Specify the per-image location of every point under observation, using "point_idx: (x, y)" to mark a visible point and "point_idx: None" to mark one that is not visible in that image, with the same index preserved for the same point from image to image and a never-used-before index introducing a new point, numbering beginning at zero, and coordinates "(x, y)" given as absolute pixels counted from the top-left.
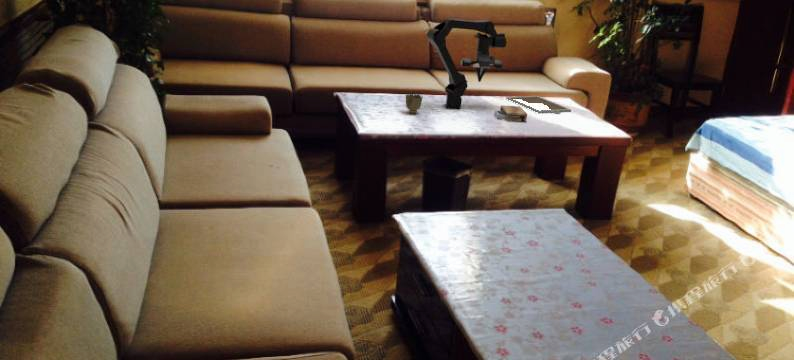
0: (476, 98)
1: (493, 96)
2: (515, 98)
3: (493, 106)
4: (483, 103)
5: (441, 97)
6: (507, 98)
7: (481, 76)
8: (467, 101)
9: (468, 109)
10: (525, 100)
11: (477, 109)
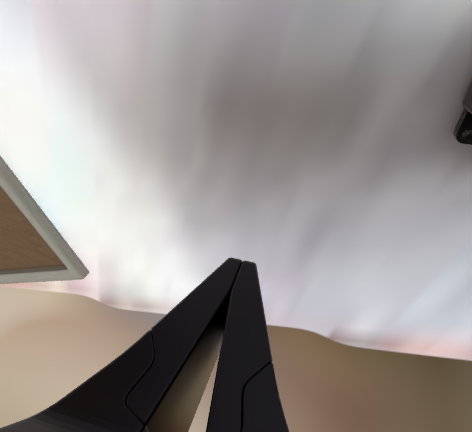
0: None
1: (142, 308)
2: (47, 268)
3: (158, 140)
4: (211, 207)
5: (443, 324)
6: (79, 268)
7: (195, 318)
8: (304, 247)
9: (410, 14)
10: (7, 247)
11: (310, 29)
